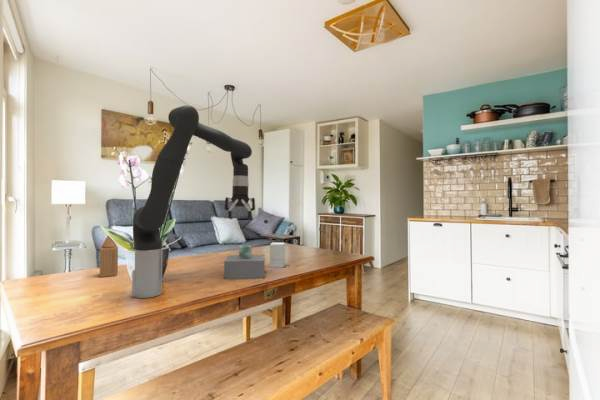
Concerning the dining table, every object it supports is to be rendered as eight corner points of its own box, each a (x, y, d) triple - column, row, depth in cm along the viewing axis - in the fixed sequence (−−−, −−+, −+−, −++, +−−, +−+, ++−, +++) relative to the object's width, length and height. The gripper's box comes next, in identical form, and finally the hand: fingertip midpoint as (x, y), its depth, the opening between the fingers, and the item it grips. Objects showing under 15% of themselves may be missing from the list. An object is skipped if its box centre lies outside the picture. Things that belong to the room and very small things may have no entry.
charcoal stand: (224, 279, 134) (224, 261, 134) (228, 270, 150) (228, 254, 150) (264, 278, 136) (264, 260, 136) (264, 270, 152) (264, 254, 152)
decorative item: (99, 277, 136) (99, 234, 136) (101, 274, 142) (101, 232, 142) (116, 276, 139) (116, 233, 139) (117, 273, 145) (118, 232, 145)
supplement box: (285, 265, 164) (285, 242, 164) (283, 268, 157) (283, 244, 157) (272, 264, 165) (272, 242, 165) (269, 267, 158) (269, 243, 158)
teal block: (239, 258, 140) (239, 247, 140) (240, 256, 146) (240, 245, 146) (250, 258, 141) (250, 247, 141) (251, 256, 146) (251, 245, 146)
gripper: (224, 184, 139) (223, 219, 139) (254, 185, 141) (254, 219, 140) (226, 185, 147) (226, 218, 147) (255, 186, 148) (255, 218, 148)
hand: (239, 219), depth 143 cm, fingers open, 8 cm apart
